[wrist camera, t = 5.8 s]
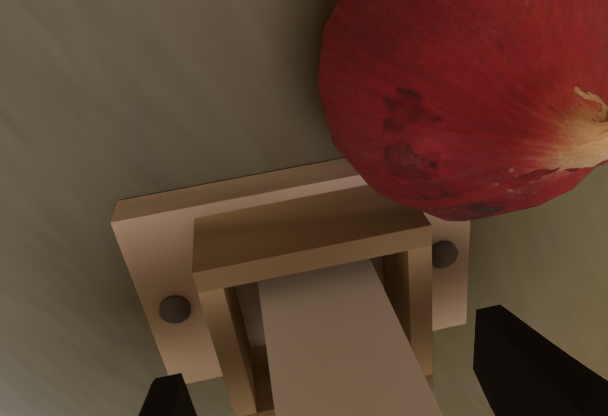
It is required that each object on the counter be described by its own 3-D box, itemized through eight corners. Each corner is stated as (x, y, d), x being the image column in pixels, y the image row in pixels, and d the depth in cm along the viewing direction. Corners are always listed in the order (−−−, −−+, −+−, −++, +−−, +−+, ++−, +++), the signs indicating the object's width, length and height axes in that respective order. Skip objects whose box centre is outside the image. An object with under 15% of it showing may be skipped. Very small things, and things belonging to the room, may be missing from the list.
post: (363, 306, 16) (472, 588, 10) (270, 326, 16) (315, 627, 9) (355, 228, 15) (479, 495, 8) (253, 248, 15) (291, 540, 8)
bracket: (451, 300, 19) (501, 380, 15) (175, 359, 18) (167, 456, 15) (455, 136, 15) (519, 194, 12) (117, 200, 15) (91, 280, 11)
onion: (433, 165, 16) (607, 360, 9) (259, 95, 14) (310, 276, 7) (549, -24, 14) (901, 42, 7) (360, -140, 12) (581, -214, 5)
